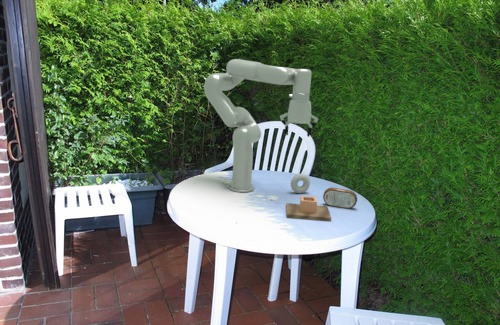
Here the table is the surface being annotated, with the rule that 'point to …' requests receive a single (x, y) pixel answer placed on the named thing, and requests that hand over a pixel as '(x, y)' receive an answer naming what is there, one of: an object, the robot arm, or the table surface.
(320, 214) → the board
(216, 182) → the table surface
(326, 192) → the tin
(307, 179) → the donut
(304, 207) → the hollow square tube
